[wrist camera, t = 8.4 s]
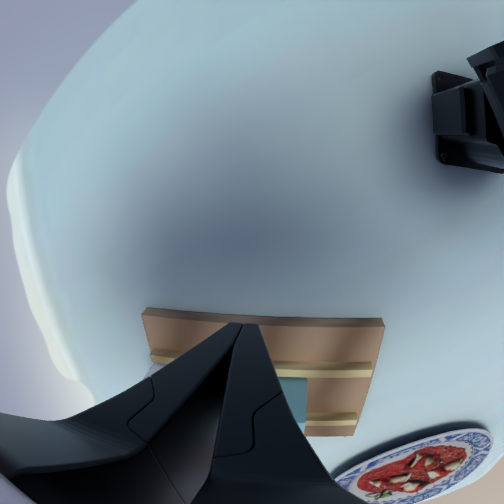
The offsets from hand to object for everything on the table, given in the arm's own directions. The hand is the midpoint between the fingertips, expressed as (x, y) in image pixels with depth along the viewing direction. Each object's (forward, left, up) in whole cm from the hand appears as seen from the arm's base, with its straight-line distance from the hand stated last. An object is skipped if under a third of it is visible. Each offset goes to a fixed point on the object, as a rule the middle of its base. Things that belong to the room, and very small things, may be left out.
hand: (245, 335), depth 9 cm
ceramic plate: (-20, +35, -12) cm, 42 cm away
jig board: (+1, +14, -12) cm, 18 cm away
